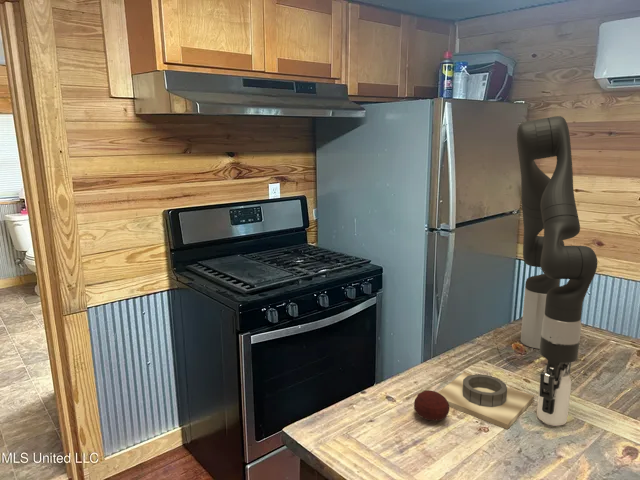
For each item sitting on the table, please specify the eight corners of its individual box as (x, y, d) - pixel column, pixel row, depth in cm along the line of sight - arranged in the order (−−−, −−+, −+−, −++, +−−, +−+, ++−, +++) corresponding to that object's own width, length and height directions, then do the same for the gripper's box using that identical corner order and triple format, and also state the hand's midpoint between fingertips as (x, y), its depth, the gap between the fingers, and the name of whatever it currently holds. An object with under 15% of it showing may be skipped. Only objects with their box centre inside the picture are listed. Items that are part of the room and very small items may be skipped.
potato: (423, 430, 108) (424, 405, 106) (407, 410, 115) (408, 386, 114) (453, 424, 109) (455, 400, 108) (435, 405, 117) (436, 382, 116)
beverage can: (540, 409, 115) (545, 362, 113) (569, 419, 111) (575, 370, 109) (532, 421, 110) (537, 372, 108) (562, 432, 107) (568, 381, 104)
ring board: (464, 376, 131) (465, 361, 130) (533, 400, 119) (535, 384, 118) (433, 400, 119) (434, 384, 118) (507, 429, 108) (508, 412, 107)
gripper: (552, 322, 114) (545, 388, 118) (530, 341, 104) (523, 413, 107) (588, 330, 109) (580, 399, 113) (568, 351, 99) (560, 427, 102)
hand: (552, 406), depth 110 cm, fingers closed on beverage can, 6 cm apart
